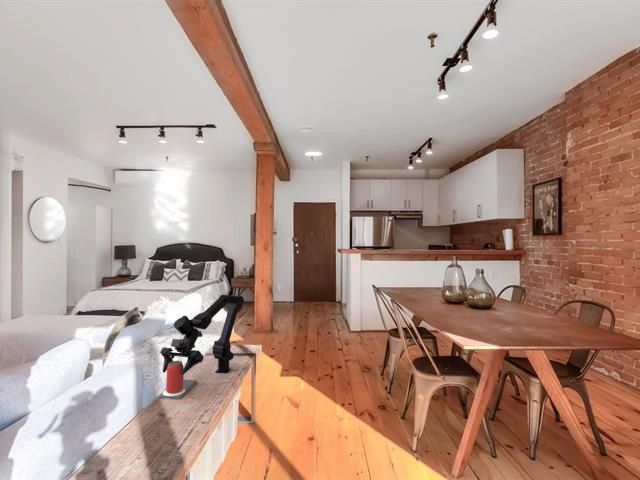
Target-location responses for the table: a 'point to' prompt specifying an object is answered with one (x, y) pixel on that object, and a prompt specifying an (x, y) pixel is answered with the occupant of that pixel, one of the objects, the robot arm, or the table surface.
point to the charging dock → (186, 387)
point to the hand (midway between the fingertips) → (172, 373)
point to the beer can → (174, 377)
